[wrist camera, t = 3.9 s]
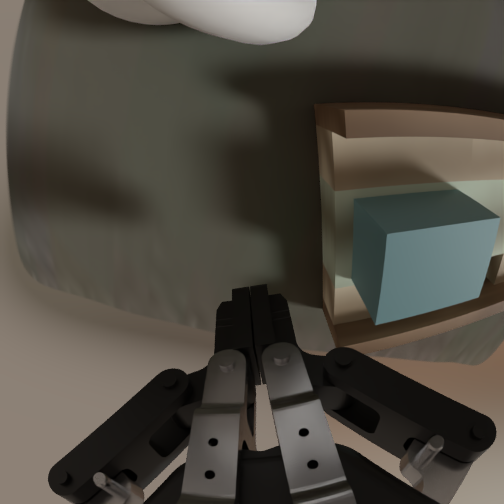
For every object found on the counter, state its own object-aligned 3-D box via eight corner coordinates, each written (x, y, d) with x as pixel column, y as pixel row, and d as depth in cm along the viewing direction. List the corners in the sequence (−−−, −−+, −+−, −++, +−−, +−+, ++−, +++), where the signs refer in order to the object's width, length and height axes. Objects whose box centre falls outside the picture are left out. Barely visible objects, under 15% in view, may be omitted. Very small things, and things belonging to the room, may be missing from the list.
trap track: (313, 103, 15) (344, 110, 11) (564, 128, 15) (599, 144, 10) (322, 309, 22) (340, 359, 18) (541, 256, 22) (568, 280, 17)
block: (353, 198, 15) (387, 234, 11) (457, 189, 15) (500, 217, 11) (351, 279, 17) (375, 325, 14) (445, 261, 17) (478, 297, 14)
